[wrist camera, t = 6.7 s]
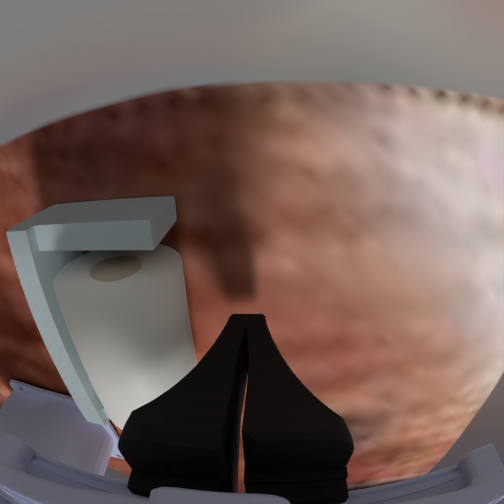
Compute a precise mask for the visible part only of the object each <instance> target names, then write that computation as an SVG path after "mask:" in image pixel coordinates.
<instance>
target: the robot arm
mask: <svg viewBox="0 0 504 504" xmlns="http://www.w3.org/2000/svg"><path fill="white" fill-rule="evenodd" d="M247 375H248V381H247ZM246 382H247V392H246V401H245V410H244V418H243V426H242V438H243V449H244V460H245V471H244V483H245V490H246V493H238V464H239V441H240V422H241V413H242V407H243V401H244V395H245V388H246ZM9 384H10V386H11V387H12V389H13V391H12V392H11V394H10V395H9V397H8V398H7V400H6V401H5V403H4V405H3V406H2V408H1V409H0V504H496V503H497V502H498V501H500V500H501V499H502V498H504V467H503V465H502V463H501V461H500V458H499V456H498V454H497V451H496V449H495V447H494V445H493V444H488V445H486V446H484V447H481V448H479V449H476V450H474V451H472V452H470V453H468V454H467V455H465V456H464V457H463V458H462V459H461V460H460V462H459V463H458V464H456V465H454V466H451V467H448V468H445V469H442V470H439V471H436V472H433V473H429V474H426V475H423V476H419V477H415V478H412V479H408V480H404V481H400V482H396V483H392V484H387V485H382V486H378V487H372V488H367V489H361V490H355V491H349V492H348V488H347V482H346V478H347V476H348V473H347V467H346V465H347V463H348V462H349V460H350V458H351V456H352V454H353V450H354V445H353V440H352V437H351V434H350V432H349V430H348V427H347V425H346V423H345V421H344V419H343V418H342V417H341V416H339V415H338V414H336V413H335V412H334V411H332V410H331V409H329V408H328V407H327V406H326V405H324V404H323V403H322V402H321V401H320V400H319V399H317V398H316V397H315V396H314V395H313V394H312V393H311V392H310V391H309V390H308V389H307V388H306V387H305V386H304V385H303V384H302V383H301V381H300V380H299V379H298V378H297V377H296V375H295V374H294V373H293V372H292V370H291V369H290V368H289V366H288V365H287V363H286V362H285V360H284V359H283V357H282V355H281V354H280V352H279V350H278V348H277V347H276V345H275V343H274V341H273V339H272V336H271V334H270V332H269V329H268V326H267V323H266V319H265V316H264V315H263V314H232V315H231V316H230V317H229V320H228V322H227V324H226V325H225V327H224V329H223V330H222V332H221V334H220V335H219V337H218V338H217V340H216V341H215V343H214V344H213V345H212V347H211V348H210V349H209V351H208V352H207V353H206V354H205V356H204V357H203V358H202V359H201V360H200V362H199V363H198V364H197V365H196V366H195V367H194V368H193V369H192V370H191V371H190V372H189V373H188V374H187V375H186V376H185V377H183V378H182V379H181V380H180V381H179V382H178V383H177V384H175V385H174V386H173V387H171V388H170V389H169V390H167V391H166V392H164V393H163V394H162V395H160V396H159V397H157V398H156V399H154V400H152V401H150V402H149V403H147V404H145V405H143V406H141V407H139V408H137V409H135V410H133V411H132V412H131V414H130V416H129V418H128V419H127V421H126V423H125V425H124V427H123V430H122V433H121V436H120V438H119V436H118V435H117V433H116V431H115V430H114V428H113V426H112V424H111V423H110V421H109V419H108V420H107V423H106V425H105V426H104V425H99V424H95V423H91V422H87V421H86V419H85V417H84V416H83V414H82V413H81V411H80V409H79V408H78V406H77V404H76V403H75V401H74V399H73V397H71V396H67V395H63V394H59V393H55V392H52V391H48V390H45V389H42V388H38V387H35V386H32V385H29V384H26V383H23V382H20V381H17V380H14V379H11V380H10V382H9ZM110 456H112V457H116V458H121V459H125V460H126V462H127V463H128V464H129V466H130V467H131V468H132V471H131V475H130V478H129V481H128V482H124V481H120V480H116V479H112V478H108V477H105V476H104V473H105V470H106V467H107V465H108V462H109V459H110Z"/></svg>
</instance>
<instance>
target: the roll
mask: <svg viewBox="0 0 504 504" xmlns="http://www.w3.org/2000/svg"><path fill="white" fill-rule="evenodd" d="M53 288H54V292H55V295H56V298H57V301H58V304H59V307H60V309H61V312H62V315H63V318H64V321H65V323H66V326H67V328H68V331H69V334H70V336H71V339H72V341H73V343H74V346H75V348H76V351H77V353H78V355H79V358H80V360H81V362H82V364H83V367H84V369H85V371H86V373H87V375H88V377H89V379H90V381H91V384H92V386H93V388H94V390H95V392H96V394H97V396H98V397H99V399H100V401H101V403H102V405H103V407H104V409H105V411H106V412H107V414H108V416H109V418H110V419H111V421H112V422H113V423H114V424H115V425H116V426H117V427H119V428H120V429H122V430H123V427H124V425H125V423H126V421H127V419H128V418H129V416H130V414H131V412H132V411H133V410H135V409H137V408H139V407H141V406H143V405H145V404H147V403H149V402H150V401H152V400H154V399H156V398H157V397H159V396H160V395H162V394H163V393H164V392H166V391H167V390H169V389H170V388H171V387H173V386H174V385H175V384H177V383H178V382H179V381H180V380H181V379H182V378H183V377H185V376H186V375H187V374H188V373H189V372H190V371H191V370H192V369H193V368H194V367H195V366H196V365H197V359H196V354H195V348H194V342H193V335H192V329H191V323H190V316H189V309H188V302H187V295H186V287H185V280H184V272H183V264H182V258H181V256H180V254H179V253H178V252H177V251H176V250H174V249H172V248H171V247H168V246H165V245H162V244H158V245H157V247H156V248H155V249H154V250H93V251H90V252H88V253H85V254H83V255H81V256H79V257H77V258H75V259H74V260H72V261H71V262H69V263H68V264H67V265H65V266H64V267H63V268H62V269H61V270H60V271H59V272H58V274H57V275H56V277H55V279H54V283H53Z"/></svg>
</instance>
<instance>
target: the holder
mask: <svg viewBox="0 0 504 504" xmlns="http://www.w3.org/2000/svg"><path fill="white" fill-rule="evenodd" d="M176 221H177V215H176V204H175V196H161V197H142V198H126V199H112V200H98V201H86V202H75V203H64V204H55V205H52V206H50V207H48V208H46V209H45V210H43V211H41V212H39V213H37V214H36V215H34V216H32V217H30V218H29V219H27V220H25V221H23V222H22V223H20V224H18V225H17V226H15V227H13V228H12V229H10V230H8V231H7V232H6V233H7V237H8V241H9V245H10V249H11V253H12V256H13V260H14V263H15V266H16V269H17V273H18V276H19V279H20V282H21V285H22V288H23V291H24V293H25V296H26V299H27V302H28V304H29V307H30V310H31V312H32V315H33V317H34V320H35V322H36V325H37V327H38V329H39V332H40V334H41V336H42V339H43V341H44V343H45V345H46V347H47V349H48V352H49V354H50V356H51V358H52V360H53V362H54V364H55V366H56V368H57V370H58V372H59V374H60V376H61V378H62V379H63V381H64V383H65V385H66V387H67V389H68V390H69V392H70V394H71V396H72V397H73V399H74V401H75V403H76V404H77V406H78V408H79V409H80V411H81V413H82V414H83V416H84V417H85V419H86V421H87V422H91V423H95V424H99V425H104V426H105V425H106V423H107V420H108V419H110V418H109V416H108V414H107V412H106V411H105V409H104V407H103V405H102V403H101V401H100V399H99V397H98V396H97V394H96V392H95V390H94V388H93V386H92V384H91V381H90V379H89V377H88V375H87V373H86V371H85V369H84V367H83V364H82V362H81V360H80V358H79V355H78V353H77V351H76V348H75V346H74V343H73V341H72V339H71V336H70V334H69V331H68V328H67V326H66V323H65V321H64V318H63V315H62V312H61V309H60V307H59V304H58V301H57V298H56V295H55V292H54V288H53V283H54V279H55V277H56V275H57V274H58V272H59V271H60V270H61V269H62V268H63V267H64V266H65V265H67V264H68V263H69V262H71V261H72V260H74V259H75V258H77V257H79V256H81V255H83V251H82V250H154V249H155V248H156V247H157V245H158V244H159V243H160V241H161V240H162V239H163V237H164V236H165V235H166V234H167V232H168V231H169V230H170V228H171V227H172V226H173V225H174V223H175V222H176ZM110 420H111V419H110Z"/></svg>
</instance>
